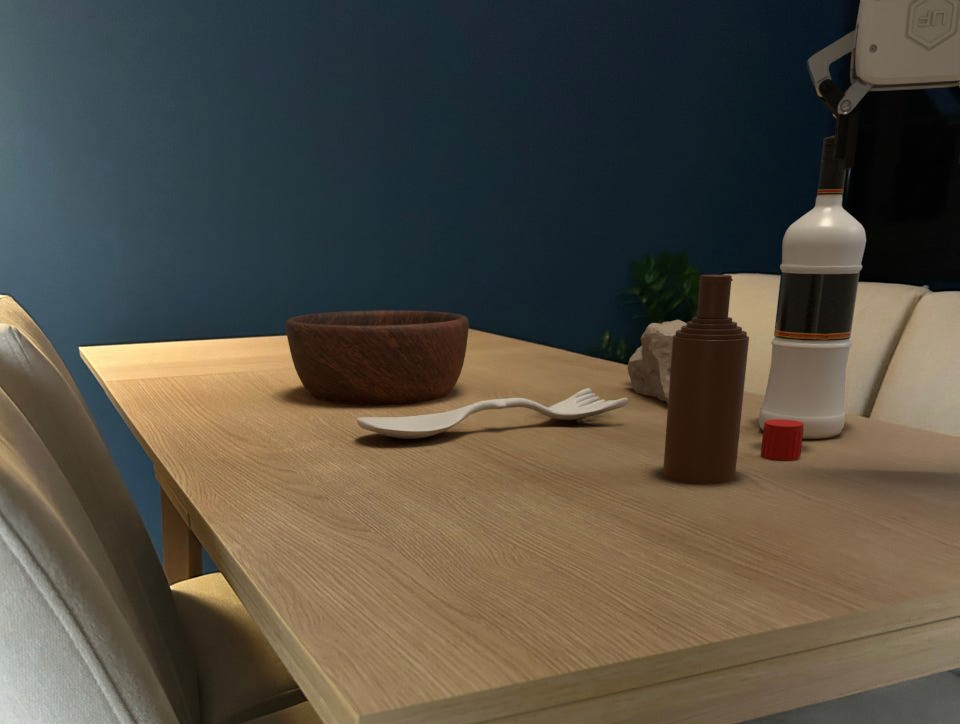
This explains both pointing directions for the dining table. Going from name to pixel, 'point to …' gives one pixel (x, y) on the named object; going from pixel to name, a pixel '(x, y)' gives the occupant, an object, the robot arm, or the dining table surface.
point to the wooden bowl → (378, 354)
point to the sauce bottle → (706, 390)
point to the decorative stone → (654, 360)
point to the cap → (782, 439)
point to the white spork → (439, 422)
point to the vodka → (816, 311)
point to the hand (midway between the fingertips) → (906, 166)
